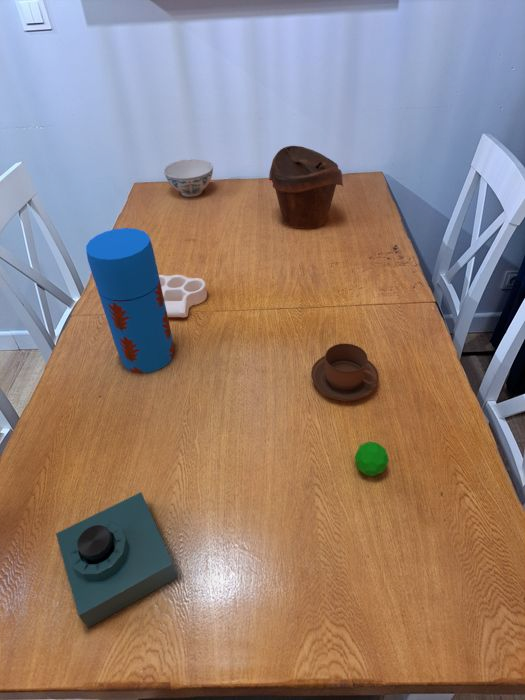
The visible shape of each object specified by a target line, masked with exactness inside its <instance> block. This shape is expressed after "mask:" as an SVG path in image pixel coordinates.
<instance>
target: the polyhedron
mask: <svg viewBox="0 0 525 700" xmlns="http://www.w3.org/2000/svg"><path fill="white" fill-rule="evenodd" d="M354 460H355V465H356V468H357V469H358V470H359V471H360V472H361V473H363V474H364V475H366V476H370V477H375V476H377V475H379V474H381V473H383V472H385V470H386V468H387V466H388V464H389V461H390V459H389V456H388V453H387V450H386V448H385V447H384V446H383V445H381V444H380V443H378V442H375V441H367V442H365V443H363V444H360V445H359V446H358V449H357V450H356V453H355V455H354Z"/></svg>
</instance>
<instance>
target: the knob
mask: <svg viewBox="0 0 525 700" xmlns="http://www.w3.org/2000/svg"><path fill="white" fill-rule="evenodd" d="M77 547H78V550H79V552H80V553H81V555H82V557H83V558H84V560H85V561H87V562H89V563H99V562H102V561H104V560H105V559H107V558H108V557H109V556H110V554H111V553H112V551H113V548H114V540H113V538H112V536H111V534H110V532H109V530H108V529H107V528H106V527H104V526H101V525H95V526H92V527H89V528H88V529H86V530H85V531H84V532H83V533H82V534H81V535H80V537H79V539H78V543H77Z"/></svg>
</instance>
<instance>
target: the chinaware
mask: <svg viewBox="0 0 525 700" xmlns="http://www.w3.org/2000/svg"><path fill="white" fill-rule="evenodd" d="M213 172H214V165H213V164H212V163H211V162H210V161H208V160H205V159H199V158H190V159H189V158H188V159H180V160H177V161H174V162H172V163H168V164H167V166H165V167H164V169H163V174H164V175H165V178H166V180H167V182H168V184H169V185H170V186H171V187H172V188H173V189H174V190H175V191H178V192H179V193H181V195H182V197H187V198H194V197H198V196H200V195H201V194H202V193H203V190H205V188H207V187H208V186H209V184H210V182H211V180H212V177H213Z"/></svg>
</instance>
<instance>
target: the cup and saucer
mask: <svg viewBox="0 0 525 700" xmlns="http://www.w3.org/2000/svg"><path fill="white" fill-rule="evenodd" d="M310 374H311V376H310V377H311V380H312V383H313V385H314V386H315V388H316V389H317V390H318V391H319V392H320V393H322V394H323V395H325V396H326V397H328V398H331V399H333V400H337V401H346V402H347V401H357V400H361V399H364V398H365V397H367V396H369V395H370V394H372V393H373V392H374V390H375V389H376V387H378V383H379V378H380V376H379V371H378V369H377V367H376V366H375V365H374V364H373V363H372V362H371V361H370V360H369V358H368V354H367V353H366V351H365V350H364V349H363V348H362V347H360V346H358V345H356V344H354V343H337V344H334V345H332V346H330V347H328V349H327V350H326V351H325V355H323V356H321V357H320V358H318V359H317V360H316V361H315V363H314V364H313V366H312V368H311V373H310Z"/></svg>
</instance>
